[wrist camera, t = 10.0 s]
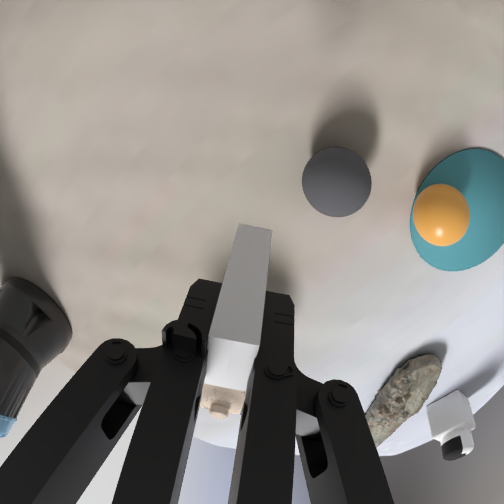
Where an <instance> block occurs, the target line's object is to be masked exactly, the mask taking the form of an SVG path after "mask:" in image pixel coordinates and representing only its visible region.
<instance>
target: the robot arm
mask: <svg viewBox="0 0 504 504" xmlns="http://www.w3.org/2000/svg"><path fill="white" fill-rule="evenodd" d="M271 236H272V230H270V229H265V228H260V227H254V226H249V225H244V224H239V226H238V229H237V233H236V237H235V240H234V244H233V247H232V251H231V254H230V258H229V262H228V265H227V269H226V272H225V276H224V280H223V283H218V282H213V281H208V280H203V279H198V280H197V281H196V282H195V283H194V284H192V285H191V286H190V289H189V291H188V294H187V298H186V299H185V302H184V305H183V307H182V310H181V313H180V315H179V318H178V320H175V321H172V322H170V323H168V324H167V325H166V326H165V327H164V328H163V330H162V342H163V345H161V346H158V347H154V348H134V346H133V345H132V344H131V343H130V342H129V341H127V340H124V339H110V340H107V341H105V342H104V343H102V344H101V345H100V346H99V347H98V348H97V349H96V350H95V351H94V353H93V354H92V355H91V356H90V357H89V358H88V359H87V361H86V362H85V363H84V364H83V365H82V366H81V368H80V369H79V370H78V371H77V372H76V373H75V375H74V376H73V377H72V378H71V379H70V381H69V382H68V383H67V384H66V385H65V386H64V388H63V389H62V390H61V391H60V392H59V394H58V395H57V396H56V397H55V398H54V400H53V401H52V402H51V403H50V405H49V406H48V407H47V408H46V409H45V411H44V412H43V413H42V414H41V416H40V417H39V418H38V419H37V420H36V422H35V423H34V425H33V426H32V427H31V428H30V429H29V431H28V432H27V433H26V434H25V436H24V437H23V438H22V439H21V441H20V442H19V443H18V445H17V446H16V447H15V449H14V450H13V451H12V452H11V454H10V455H9V456H8V458H7V459H6V460H5V462H4V463H3V464H2V466H1V467H0V504H76V502H77V501H78V500H79V498H80V496H81V495H82V494H83V492H84V491H85V489H86V488H87V486H88V485H89V483H90V482H91V480H92V479H93V477H94V476H95V474H96V473H97V471H98V470H99V468H100V467H101V466H102V464H103V463H104V461H105V460H106V458H107V457H108V455H109V454H110V452H111V451H112V449H113V448H114V446H115V445H116V443H117V442H118V440H119V439H120V437H121V436H122V434H123V433H124V431H125V430H126V429H127V427H128V426H129V424H130V423H131V421H132V420H133V418H134V417H135V415H136V414H137V412H138V411H139V409H140V408H141V406H142V405H143V406H142V409H141V412H140V415H139V418H138V421H137V424H136V427H135V430H134V433H133V436H132V439H131V442H130V445H129V449H128V452H127V455H126V458H125V461H124V464H123V468H122V471H121V474H120V477H119V481H118V484H117V487H116V491H115V494H114V498H113V501H112V504H178V500H179V496H180V491H181V486H182V482H183V477H184V473H185V468H186V464H187V459H188V454H189V450H190V446H191V441H192V437H193V432H194V428H195V424H196V419H197V415H198V410H199V406H200V402H201V397H202V389H203V385H204V383H205V384H209V385H214V386H219V387H224V388H230V389H235V390H241V391H246V396H245V400H244V404H243V407H242V410H241V413H240V415H241V422H240V428H239V435H238V442H237V448H236V455H235V461H234V468H233V474H232V481H231V487H230V493H229V500H228V504H291V503H292V488H293V474H294V456H295V436H296V439H297V444H298V448H299V453H300V457H301V461H302V466H303V470H304V474H305V479H306V484H307V488H308V492H309V497H310V501H311V504H394V502H393V499H392V495H391V492H390V489H389V486H388V483H387V479H386V476H385V474H384V470H383V467H382V464H381V461H380V458H379V455H378V452H377V449H376V446H375V443H374V440H373V437H372V434H371V431H370V428H369V425H368V423H367V420H366V417H365V414H364V411H363V408H362V406H361V403H360V400H359V397H358V394H357V393H356V391H355V389H354V388H353V387H352V386H351V385H350V384H348V383H347V382H344V381H342V380H330V381H327V382H325V383H324V384H322V383H320V382H318V381H315V380H313V379H311V378H309V377H307V376H305V375H304V374H303V373H301V372H300V371H299V369H298V368H297V367H296V364H295V362H294V304H293V302H292V300H291V298H290V296H289V295H285V294H279V293H274V292H269V291H266V284H267V275H268V265H269V256H270V246H271ZM71 338H72V331H71V327H70V324H69V322H68V320H67V318H66V317H65V315H64V314H63V312H62V311H61V309H60V308H59V307H58V306H57V305H56V303H55V302H54V301H53V300H52V299H51V298H50V297H49V296H48V295H47V294H45V293H44V292H43V291H42V290H40V289H39V288H38V287H36V286H35V285H33V284H31V283H30V282H28V281H26V280H23V279H20V278H10V279H8V280H7V281H6V282H5V283H4V284H3V285H2V286H1V288H0V438H3V437H5V436H6V435H7V434H8V432H9V430H10V429H11V427H12V425H13V424H14V422H15V421H16V420H17V416H18V414H19V412H20V410H21V407H22V405H23V403H24V401H25V399H26V397H27V396H28V393H29V391H30V390H31V388H32V386H33V384H34V382H35V380H36V378H37V377H38V375H39V373H40V371H41V370H42V368H43V367H45V366H46V365H47V364H48V363H49V362H51V361H52V360H53V359H54V358H55V357H56V356H57V355H58V354H60V353H62V352H63V351H64V350H65V349H66V347H67V345H68V344H69V342H70V340H71Z"/></svg>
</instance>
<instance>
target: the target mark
mask: <svg viewBox="0 0 504 504" xmlns="http://www.w3.org/2000/svg"><path fill="white" fill-rule="evenodd" d="M434 184H446V185H450V186H452V187H454V188H456V189H457V190H458V191H460V192H461V193H462V195H463V196H464V197H465V199H466V201H467V203H468V206H469V210H470V223H469V226H468V229H467V231H466V233H465V235H464V236H463V237H462V238H461V239H460V240H459V241H458V242H456V243H454V244H452V245H449V246H436V245H433V244H431V243H429V242H427V241H426V240H424V239H423V238H422V237H421V236H420V234H419V233H418V231H417V230H416V227H415V225H414V221H413V207H414V203H415V201H416V199H417V197H418V195H419V194H420V193H421V192H422V191H423V190H424V189H425V188H427V187H429V186H431V185H434ZM414 203H413V206H412V211H411V218H410V231H411V237H412V240H413V243H414V246H415V248H416V250H417V252H418V253H419V255H420V256H421V257H422V258H423V259H424V260H425V261H426V262H427V263H428V264H430V265H431V266H433V267H435V268H437V269H441V270H445V271H461V270H465V269H469V268H472V267H474V266H477V265H479V264H481V263H482V262H484V261H485V260H487V259H488V258H489V257H491V256H492V255H493V254H494V253H495V252H496V251H497V250H498V249H499V248H500V247H501V246H502V245H503V243H504V160H503V159H502V158H501V157H499V156H498V155H496V154H495V153H492V152H490V151H487V150H483V149H468V150H463V151H460V152H457V153H455V154H453V155H450V156H449V157H447V158H446V159H444V160H443V161H441V162H440V163H439V164H438V165H437V166H436V167H435V168H434V169H433V170H432V171H431V172H430V173H429V174H428V176H427V177H426V178H425V180H424V181H423V183H422V185H421V186H420V188H419V190H418V192H417V194H416V197H415V200H414Z"/></svg>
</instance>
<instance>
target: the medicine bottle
mask: <svg viewBox="0 0 504 504" xmlns="http://www.w3.org/2000/svg"><path fill="white" fill-rule="evenodd" d="M426 411H427V415H428V420H429V425H430V430H431V435H432V438H433V439H436V440H438V441H440V442H441V448H442V453H443V458H444V459H445V460H456V459H458V458H461V457H463V456H465V455H467V454H468V453H469V452H471V451H472V450H473V448H474V443H473V438H472V434H471V430H473V429H475V428H476V425H475V422H474V418H473V414H472V411H471V407H470V404H469V400H468V398H467V397H465V396H464V395H463V394H462V393H461V392H460V391H459V390H455V391H453V392H452V393H450V394H448V395H446V396H445V397H443V398H441V399H439V400H437V401H435V402H433V403H432V404H430V405H428V406H426Z"/></svg>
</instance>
